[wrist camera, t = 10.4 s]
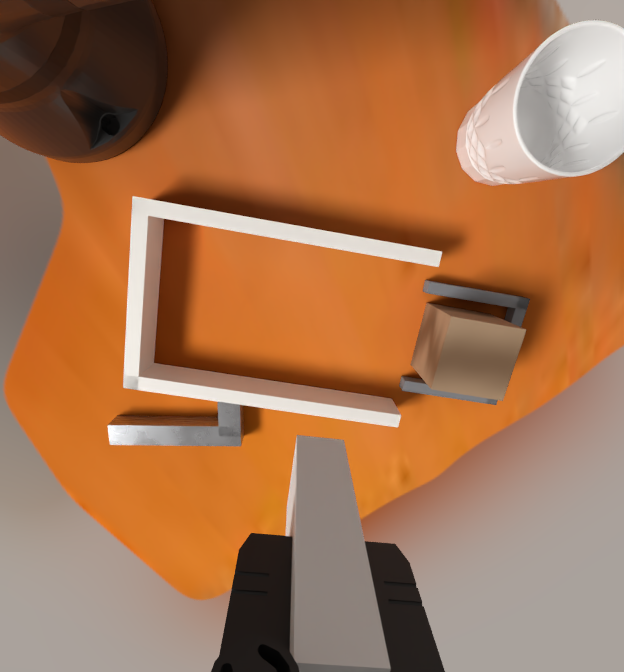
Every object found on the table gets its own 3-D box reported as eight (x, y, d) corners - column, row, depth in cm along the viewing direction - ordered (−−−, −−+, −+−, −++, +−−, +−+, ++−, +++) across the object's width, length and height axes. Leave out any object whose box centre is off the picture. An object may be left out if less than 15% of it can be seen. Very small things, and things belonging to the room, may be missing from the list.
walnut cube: (426, 302, 35) (451, 316, 29) (489, 313, 35) (526, 329, 29) (410, 364, 36) (431, 389, 30) (470, 374, 37) (502, 400, 31)
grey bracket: (425, 280, 34) (429, 281, 33) (522, 296, 35) (529, 299, 34) (399, 385, 37) (402, 390, 36) (490, 399, 37) (496, 404, 36)
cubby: (150, 199, 32) (132, 196, 28) (428, 249, 33) (442, 251, 30) (140, 372, 36) (123, 387, 32) (389, 409, 37) (398, 427, 34)
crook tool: (114, 385, 36) (103, 394, 34) (243, 387, 36) (239, 396, 34) (120, 433, 37) (109, 444, 35) (244, 435, 38) (241, 446, 36)
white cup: (541, 76, 30) (654, 3, 21) (547, 181, 32) (652, 159, 23) (442, 100, 30) (507, 38, 21) (454, 202, 32) (519, 190, 23)
